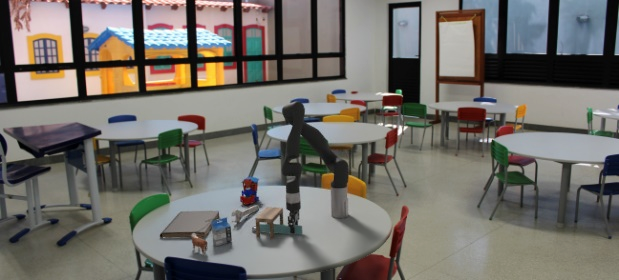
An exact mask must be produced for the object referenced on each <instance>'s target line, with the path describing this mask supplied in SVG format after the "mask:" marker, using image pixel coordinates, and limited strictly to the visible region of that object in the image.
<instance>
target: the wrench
mask: <svg viewBox="0 0 619 280" xmlns="http://www.w3.org/2000/svg"><path fill="white" fill-rule="evenodd" d="M259 208H260V207H259V205H258V204H257V205H256V204H254V205H253V206H251V207H248V208H246V209H244V210H239V209H233V210H232V212H231V217H235V218H234V219H233V222H232V223H237V224H240V222H241V220H242V218H243V217H245V216H247V215H249V214H252V213H254V212H258V210H259Z"/></svg>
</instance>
